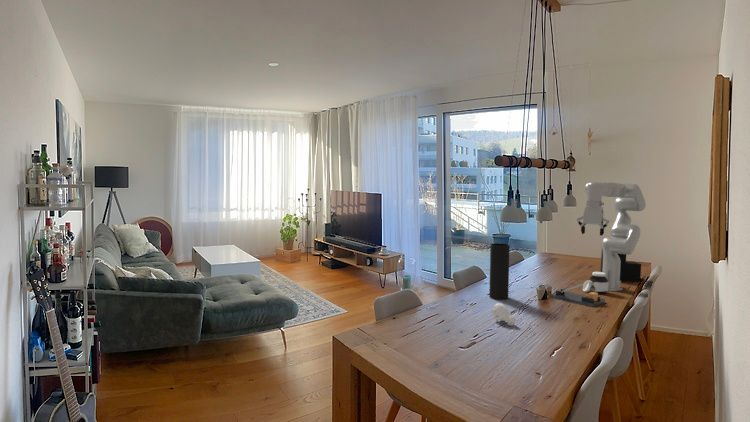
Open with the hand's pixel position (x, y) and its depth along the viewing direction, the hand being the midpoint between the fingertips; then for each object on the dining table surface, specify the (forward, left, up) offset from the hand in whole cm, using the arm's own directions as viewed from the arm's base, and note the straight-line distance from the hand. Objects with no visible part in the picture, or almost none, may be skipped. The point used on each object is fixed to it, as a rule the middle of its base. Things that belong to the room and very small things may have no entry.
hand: (592, 234), depth 257 cm
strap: (+14, -4, -30) cm, 34 cm away
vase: (+44, -30, -36) cm, 64 cm away
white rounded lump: (+79, -1, -36) cm, 87 cm away
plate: (+14, 0, -35) cm, 38 cm away
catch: (+14, +7, -34) cm, 37 cm away
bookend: (-57, -7, -36) cm, 68 cm away
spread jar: (-10, -2, -36) cm, 37 cm away
